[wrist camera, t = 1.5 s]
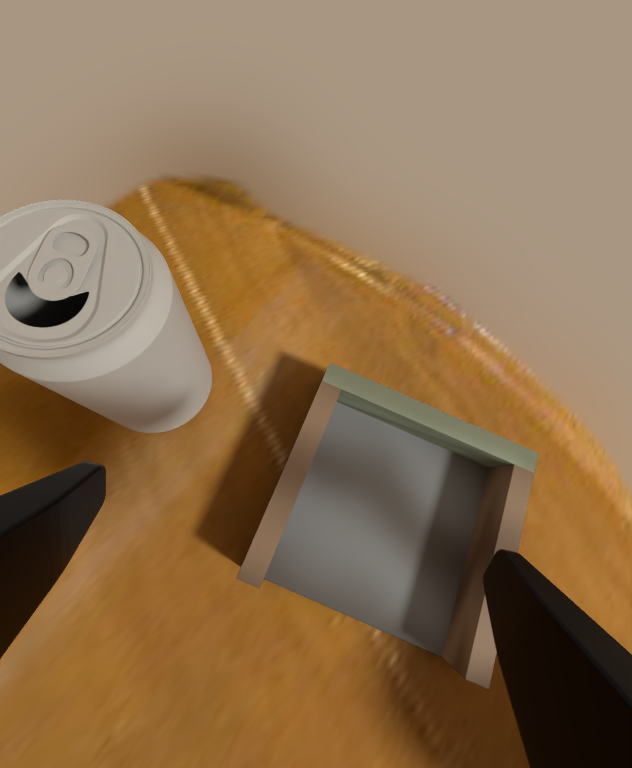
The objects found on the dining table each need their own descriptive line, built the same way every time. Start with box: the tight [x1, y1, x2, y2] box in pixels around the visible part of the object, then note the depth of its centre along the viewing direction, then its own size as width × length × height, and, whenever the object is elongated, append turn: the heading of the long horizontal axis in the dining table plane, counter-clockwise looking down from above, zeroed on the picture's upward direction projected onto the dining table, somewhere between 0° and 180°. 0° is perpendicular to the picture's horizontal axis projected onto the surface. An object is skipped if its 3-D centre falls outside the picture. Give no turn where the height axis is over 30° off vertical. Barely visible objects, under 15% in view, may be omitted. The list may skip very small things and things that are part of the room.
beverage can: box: [0, 200, 212, 433], centre depth 17 cm, size 6×6×12 cm
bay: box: [236, 363, 538, 689], centre depth 21 cm, size 12×13×3 cm
